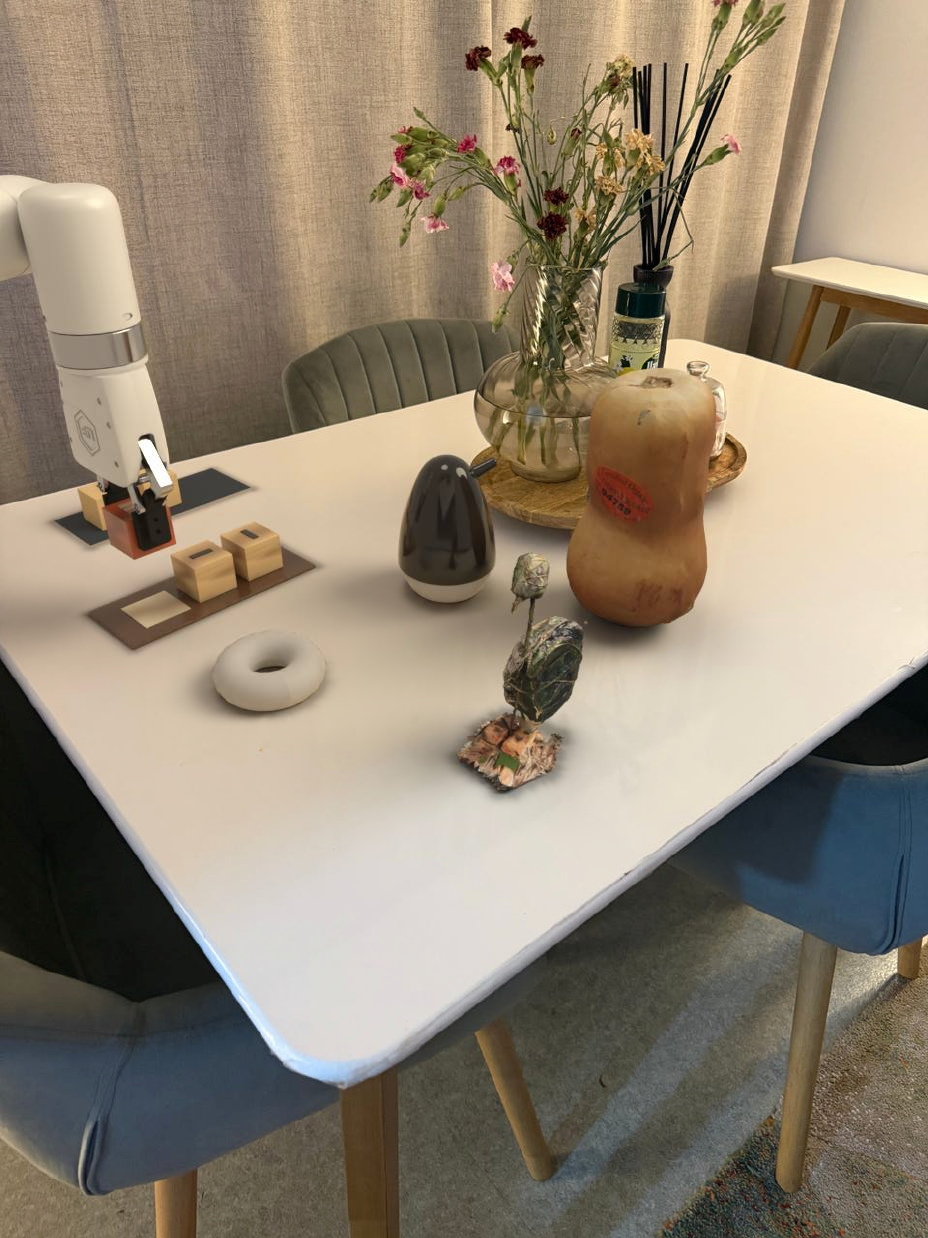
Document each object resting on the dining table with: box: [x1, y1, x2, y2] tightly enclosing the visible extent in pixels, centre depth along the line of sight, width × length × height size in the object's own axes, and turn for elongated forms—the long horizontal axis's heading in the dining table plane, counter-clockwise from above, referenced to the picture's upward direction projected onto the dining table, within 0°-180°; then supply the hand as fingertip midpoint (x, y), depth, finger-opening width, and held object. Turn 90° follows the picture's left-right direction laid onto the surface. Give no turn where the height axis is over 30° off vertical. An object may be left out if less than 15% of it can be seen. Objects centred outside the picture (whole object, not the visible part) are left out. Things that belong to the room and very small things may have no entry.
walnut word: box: [87, 521, 317, 651], centre depth 93 cm, size 9×22×5 cm, turn 137°
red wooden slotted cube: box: [102, 494, 177, 561], centre depth 85 cm, size 4×4×4 cm
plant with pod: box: [457, 552, 588, 791], centre depth 68 cm, size 8×11×20 cm
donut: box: [212, 629, 327, 712], centre depth 80 cm, size 10×3×10 cm
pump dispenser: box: [397, 453, 498, 604], centre depth 90 cm, size 10×10×15 cm
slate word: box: [54, 467, 251, 546], centre depth 109 cm, size 9×22×5 cm, turn 137°
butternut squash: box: [565, 367, 717, 629], centre depth 84 cm, size 14×13×25 cm
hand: (141, 534), depth 85 cm, fingers closed on red wooden slotted cube, 4 cm apart
